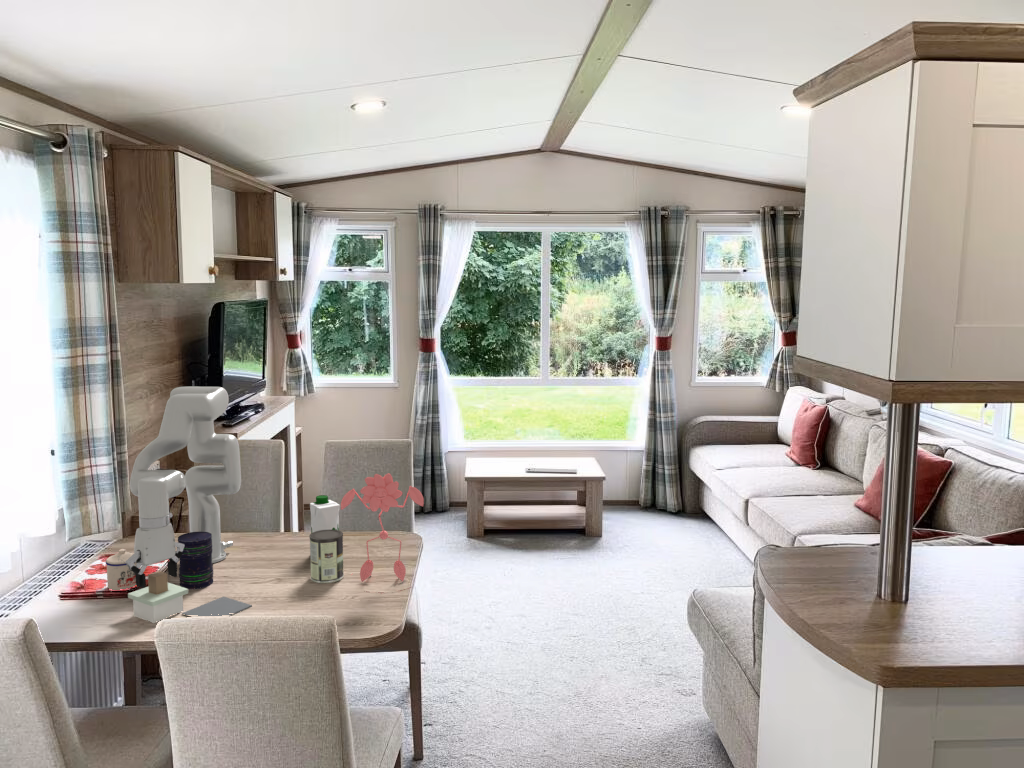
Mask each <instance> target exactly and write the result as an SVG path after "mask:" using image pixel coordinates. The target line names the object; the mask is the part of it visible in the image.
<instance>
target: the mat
mask: <svg viewBox="0 0 1024 768" xmlns="http://www.w3.org/2000/svg"><path fill="white" fill-rule="evenodd" d="M252 607H253V605H252V604H250V603H246V602H243V601H239V600H236V599H233V598H230V597H227V596H222V597H219V598H216V599H214V600H210V601H208V602H206V603H204V604H201V605H199V606H195V607H194V608H191V609H189V610H186V611H183V612H181V615H182V614H185V615H198V616H222V615H231V616H233V615H232V614H229V613H236V614H238V613H240V611H241V612H243V611H245V610H247V609H250V608H252ZM211 614H212V615H211ZM218 614H219V615H218ZM185 615H184V616H185Z"/></svg>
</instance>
